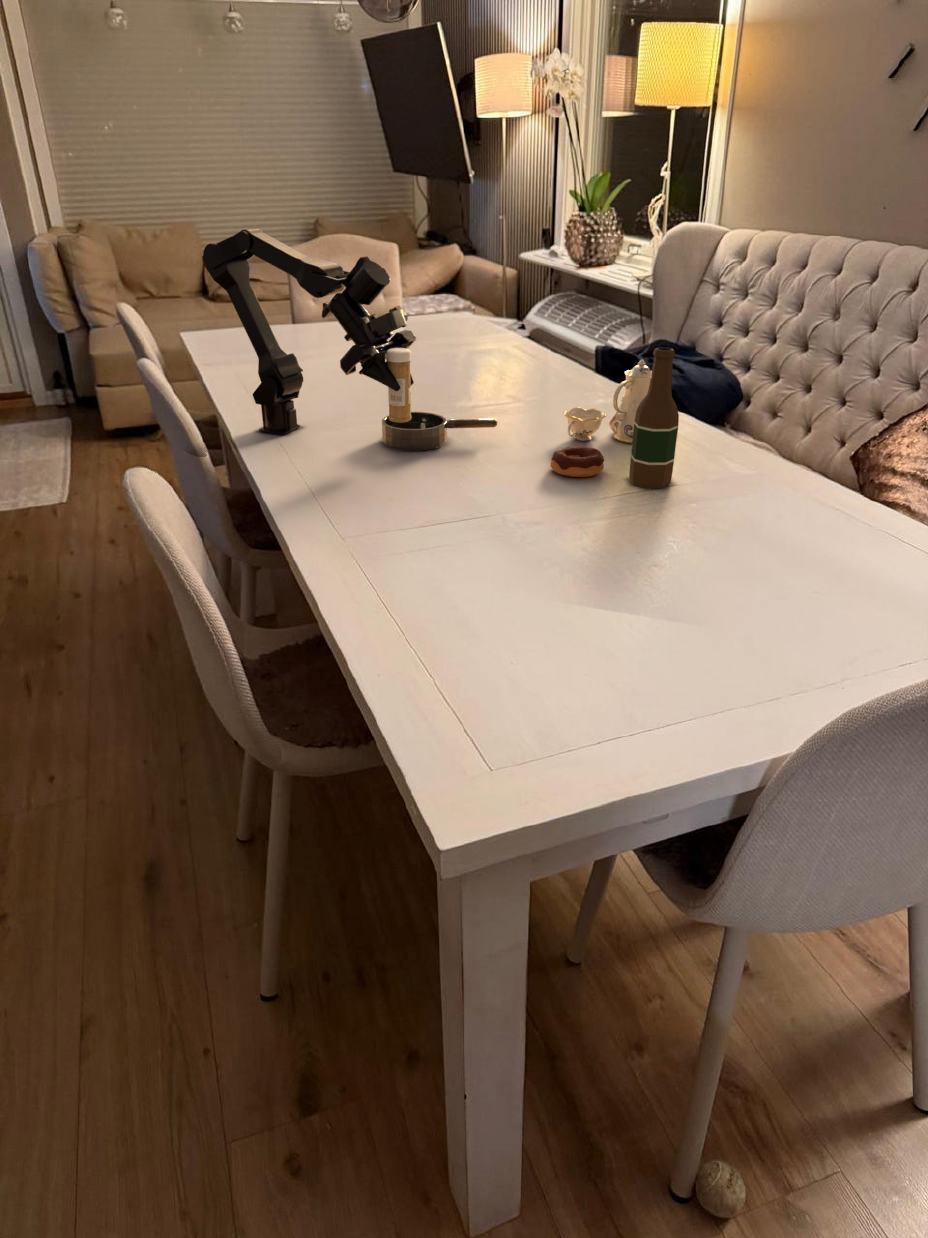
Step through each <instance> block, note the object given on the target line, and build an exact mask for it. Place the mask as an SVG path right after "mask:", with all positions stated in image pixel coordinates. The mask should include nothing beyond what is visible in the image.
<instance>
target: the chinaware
mask: <svg viewBox="0 0 928 1238" xmlns="http://www.w3.org/2000/svg"><path fill="white" fill-rule="evenodd" d="M624 374H625V380H624V381H621V382H620V383H619V384H618V386H617V387H616V389H615V391H614V394H613V399H612V406H613V409H614V410H615V413H614V415H613V416H612V417H611V419H610V420H609V424H608V426H609V428H610V430H611V431H612V432H613V433H614V435H613V438H614V439H615V440H616V441H619V442H621V443H626V444H632V440H633V430H634V421H635V415H636V411H637V408H638V406H639V404H640V402H641V401H642V400H643V399H644V397H645V396H646V395H647V393H648V389H649V386H650V380H651V374H652V370H650V367H649V366H647V365H646V362H645V360H644V359H643V358H641V359H640V360H639V362H637V365H635V366H633V367H632V368H631V369H630V370H629V369H628V370H626V371H624ZM623 387H624V388H625V390H624V395H623V396H622V397H621V400H620V406H618V401H619V399H618V398H619V394H620V393H621V391H622V389H623ZM562 414H563V415H564V416H565V417H566V422H567V425H568V427H567V435H568V436H569V437H573V438H574V440H577V441H578V440H579V441H582V442H584V441H591V440H592V435H594V434H595V433H596V432H597V431H598V430H599V429H600V428H601V424H602V421H603V420H604V418H607V413H606V412H602V411H601V410H600V409H598V408H589V409H584V408H583V407H577V406H576V407H574V408H571V409H570V410H569V411H567V410H564V411H563V412H562ZM571 432H572V433H571Z"/></svg>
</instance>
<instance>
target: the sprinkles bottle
mask: <svg viewBox="0 0 928 1238" xmlns="http://www.w3.org/2000/svg"><path fill="white" fill-rule="evenodd" d="M387 360H388V367H389V369H390V370H391V372H392V374H393V375H394V377H395V378H396V380H397V381H398V383H399V385H400V387H401V388H400V390H399V391H395V390H393V389H391V388H389V387H387V392H388V393H387V394H388V395H387V397H388V398H387V399H388V416H389V420H390V421H393V422H408V421H410V420H411V418H412V417H411V412H412V387H411V382H410V373H411V362H412V351H411V350H410V349H409V348H408V349H405V348H393V349H389V350H387Z"/></svg>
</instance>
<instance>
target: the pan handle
mask: <svg viewBox="0 0 928 1238" xmlns="http://www.w3.org/2000/svg"><path fill="white" fill-rule="evenodd" d="M446 421H447V429H481V428H482V429H483V428H484V429H485V428H486V429H487V428H489V429H490V428H496V427H497V426H498V420H497V419H496V418H460V419H459V418H457V419H455V418H453V419H452V418H451V419H446Z"/></svg>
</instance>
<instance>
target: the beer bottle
mask: <svg viewBox="0 0 928 1238" xmlns="http://www.w3.org/2000/svg"><path fill="white" fill-rule="evenodd" d="M652 355H653V356H654V357H653V361H652V370H651V371H652V374H651V380H650V386H649V389H648V393H647V395H646V396H645V397H644V399H643V400H642V401H641V402H640V404H639V406H638V408H637V411H636V415H635V421H634V430H633V440H632V443H631V451H630V461H629V474H628V475H629V476H628V478H629V480H630V482H631V484H632V485H633V486H637V487H640V488H643V489H663V488H665V487H667V486H669V485H670V484H671V482H672V478H673V472H674V462H675V455H676V446H677V439H678V433H679V432H678V431H679V422H680V421H679V418H680V414H679V411H678V410H679V409H678V406H677V404H676V402H675V400H674V398H673V394H672V393H673V392H672V382H673V367H674V366H673V365H674V358H675V356H676V353H675V350H674V348H671V347H667V346H659V347H656V348H654V350H653V352H652Z"/></svg>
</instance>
